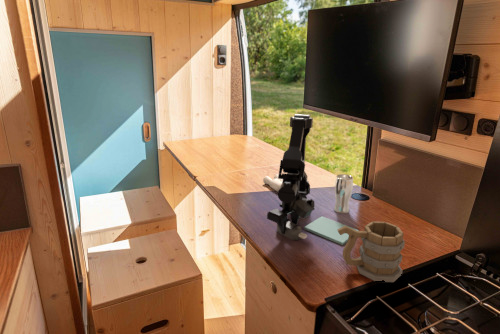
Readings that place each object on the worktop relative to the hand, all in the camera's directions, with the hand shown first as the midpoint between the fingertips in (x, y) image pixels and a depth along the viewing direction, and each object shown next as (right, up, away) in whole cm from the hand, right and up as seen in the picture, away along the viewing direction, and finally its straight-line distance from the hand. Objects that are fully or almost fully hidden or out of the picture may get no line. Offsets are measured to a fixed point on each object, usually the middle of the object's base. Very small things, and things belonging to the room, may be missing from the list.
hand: (288, 230), depth 126 cm
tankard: (+22, -9, -19) cm, 30 cm away
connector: (+1, -2, 0) cm, 2 cm away
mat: (+16, -1, +3) cm, 16 cm away
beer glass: (+24, +5, +19) cm, 31 cm away
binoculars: (+1, +13, +42) cm, 44 cm away
